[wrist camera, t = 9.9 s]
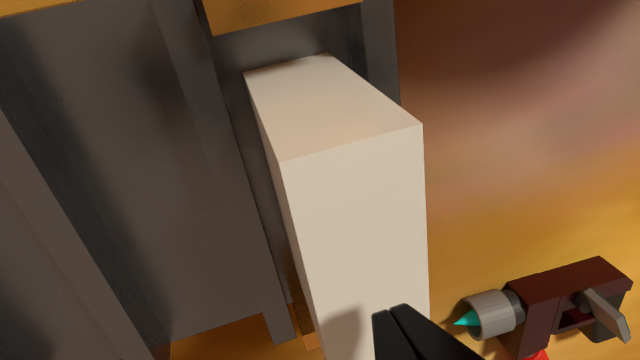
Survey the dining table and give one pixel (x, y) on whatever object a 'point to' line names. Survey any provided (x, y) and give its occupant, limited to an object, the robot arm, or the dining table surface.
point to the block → (344, 195)
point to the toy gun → (551, 308)
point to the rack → (153, 168)
